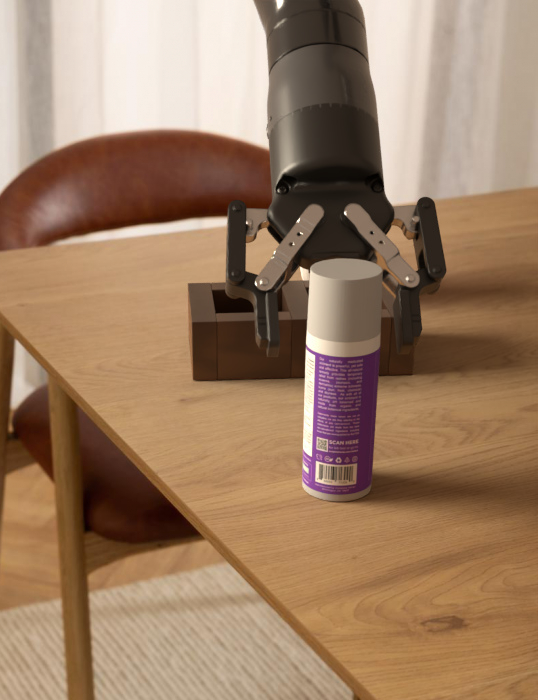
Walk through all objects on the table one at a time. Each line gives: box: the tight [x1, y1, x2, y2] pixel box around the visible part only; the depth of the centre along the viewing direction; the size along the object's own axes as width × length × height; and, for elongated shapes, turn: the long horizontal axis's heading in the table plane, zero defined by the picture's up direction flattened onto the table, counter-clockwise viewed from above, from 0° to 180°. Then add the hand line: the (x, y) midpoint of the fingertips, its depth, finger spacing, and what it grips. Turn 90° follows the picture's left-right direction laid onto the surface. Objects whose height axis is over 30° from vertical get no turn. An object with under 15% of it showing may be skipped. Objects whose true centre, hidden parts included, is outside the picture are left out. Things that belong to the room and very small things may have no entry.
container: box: [301, 258, 383, 502], centre depth 76 cm, size 5×5×15 cm
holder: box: [187, 279, 416, 381], centre depth 100 cm, size 18×10×5 cm, turn 93°
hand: (340, 351), depth 76 cm, fingers open, 8 cm apart
